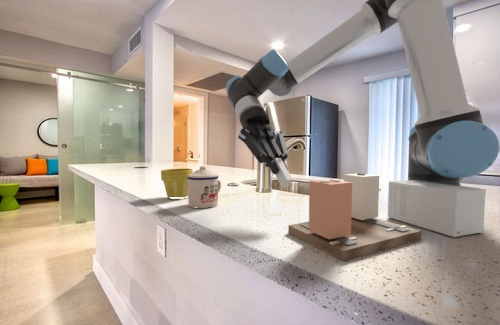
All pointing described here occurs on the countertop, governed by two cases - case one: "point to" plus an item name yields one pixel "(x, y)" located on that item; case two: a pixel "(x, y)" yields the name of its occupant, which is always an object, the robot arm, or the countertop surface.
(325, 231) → the tall salmon pillar
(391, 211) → the supplement box
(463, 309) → the countertop surface
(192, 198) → the teacup with lid
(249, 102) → the robot arm
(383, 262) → the countertop surface
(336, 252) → the walnut track board
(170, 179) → the plant pot
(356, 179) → the tall white pillar
